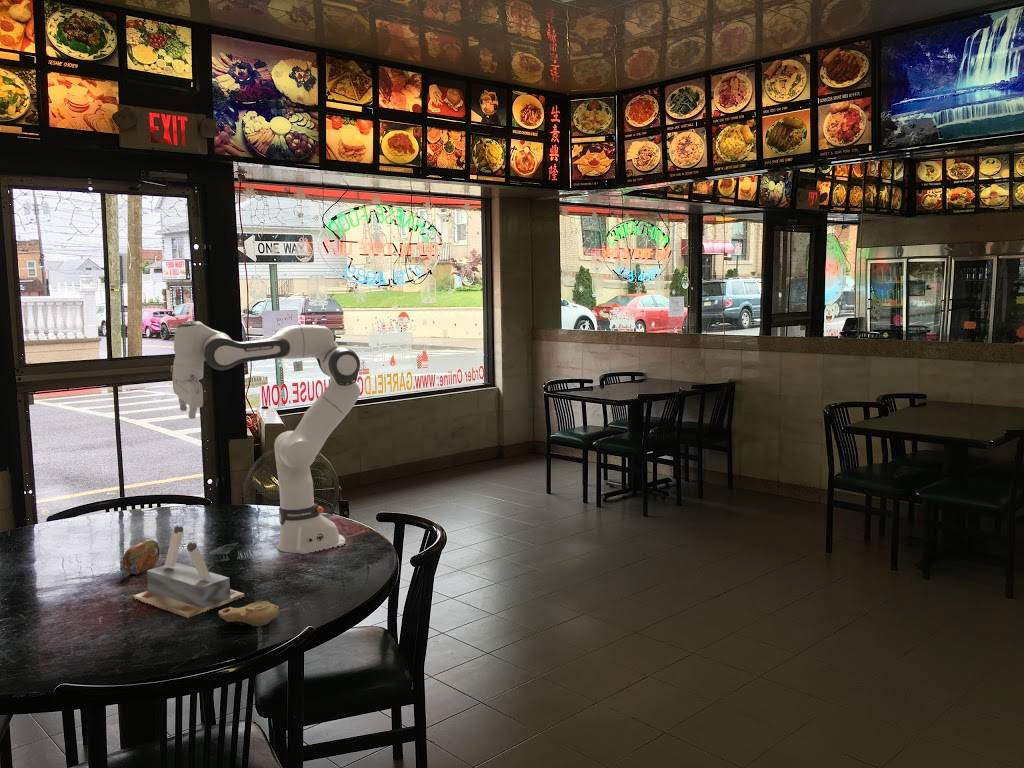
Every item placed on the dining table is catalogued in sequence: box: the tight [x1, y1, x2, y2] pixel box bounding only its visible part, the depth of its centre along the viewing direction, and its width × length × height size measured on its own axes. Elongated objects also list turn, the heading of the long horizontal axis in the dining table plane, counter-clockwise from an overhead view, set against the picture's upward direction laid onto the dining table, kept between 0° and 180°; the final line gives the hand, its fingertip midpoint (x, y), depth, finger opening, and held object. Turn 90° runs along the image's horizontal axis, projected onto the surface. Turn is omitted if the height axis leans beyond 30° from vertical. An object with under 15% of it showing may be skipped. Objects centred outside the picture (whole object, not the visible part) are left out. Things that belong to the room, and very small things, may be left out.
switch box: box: [133, 561, 245, 619], centre depth 237 cm, size 18×26×7 cm
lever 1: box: [164, 525, 184, 567], centre depth 242 cm, size 3×3×12 cm
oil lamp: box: [217, 600, 280, 627], centre depth 217 cm, size 11×14×5 cm
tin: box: [122, 539, 160, 575], centre depth 262 cm, size 15×3×8 cm, turn 168°
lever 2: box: [186, 541, 211, 580], centre depth 228 cm, size 3×3×12 cm
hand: (187, 414), depth 266 cm, fingers open, 8 cm apart
